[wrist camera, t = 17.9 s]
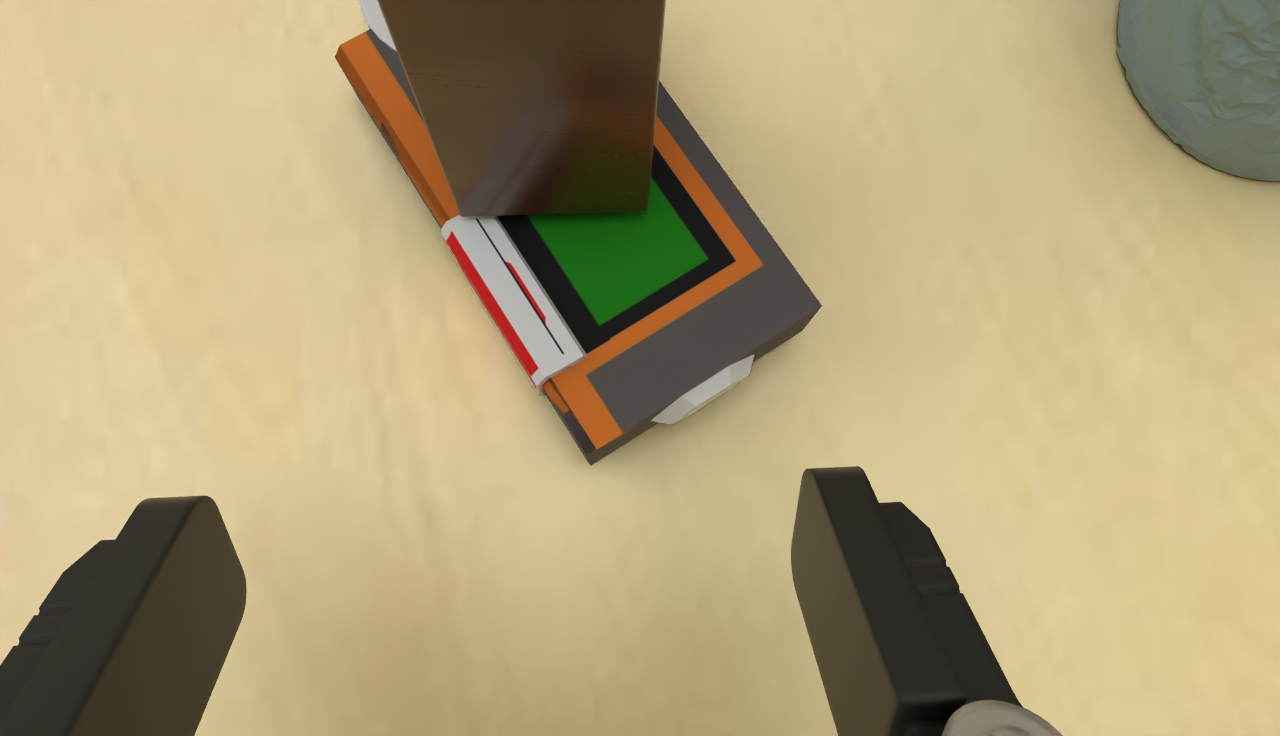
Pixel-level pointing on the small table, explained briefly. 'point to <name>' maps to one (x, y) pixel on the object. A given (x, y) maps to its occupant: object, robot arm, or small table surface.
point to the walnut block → (535, 99)
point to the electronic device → (607, 272)
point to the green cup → (1209, 77)
